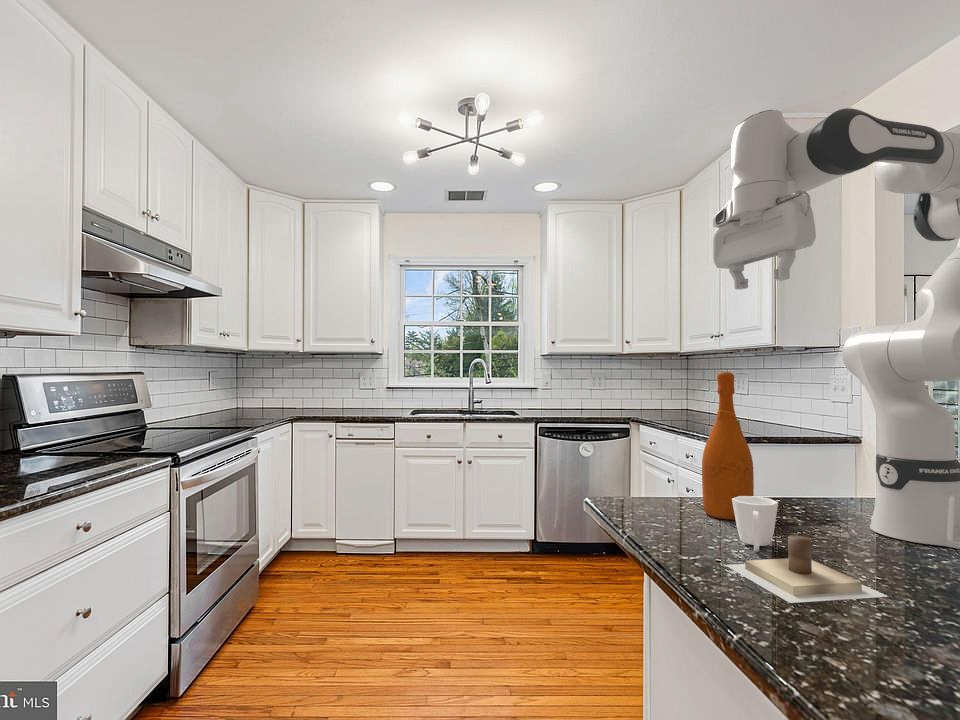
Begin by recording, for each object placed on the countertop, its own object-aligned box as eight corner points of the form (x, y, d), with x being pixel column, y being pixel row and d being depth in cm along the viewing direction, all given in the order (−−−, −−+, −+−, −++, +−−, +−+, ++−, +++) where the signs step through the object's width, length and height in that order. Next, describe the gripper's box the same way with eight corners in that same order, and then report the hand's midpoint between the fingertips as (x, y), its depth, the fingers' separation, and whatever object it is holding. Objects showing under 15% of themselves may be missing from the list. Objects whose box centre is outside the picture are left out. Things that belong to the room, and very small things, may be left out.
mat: (808, 563, 84) (808, 560, 84) (888, 600, 70) (888, 596, 70) (724, 568, 82) (724, 564, 82) (790, 606, 68) (789, 602, 68)
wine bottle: (763, 521, 108) (760, 371, 109) (714, 521, 108) (711, 371, 109) (740, 509, 118) (738, 372, 119) (695, 509, 118) (693, 372, 119)
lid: (806, 565, 82) (805, 527, 82) (861, 591, 72) (860, 547, 72) (745, 568, 80) (744, 529, 80) (793, 595, 70) (792, 551, 71)
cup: (777, 545, 93) (776, 497, 94) (782, 563, 84) (781, 510, 85) (732, 540, 96) (731, 494, 97) (732, 556, 87) (731, 506, 87)
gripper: (825, 187, 86) (826, 274, 85) (734, 223, 106) (735, 293, 105) (792, 184, 84) (794, 272, 84) (706, 221, 104) (707, 292, 104)
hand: (760, 284), depth 95 cm, fingers open, 8 cm apart
